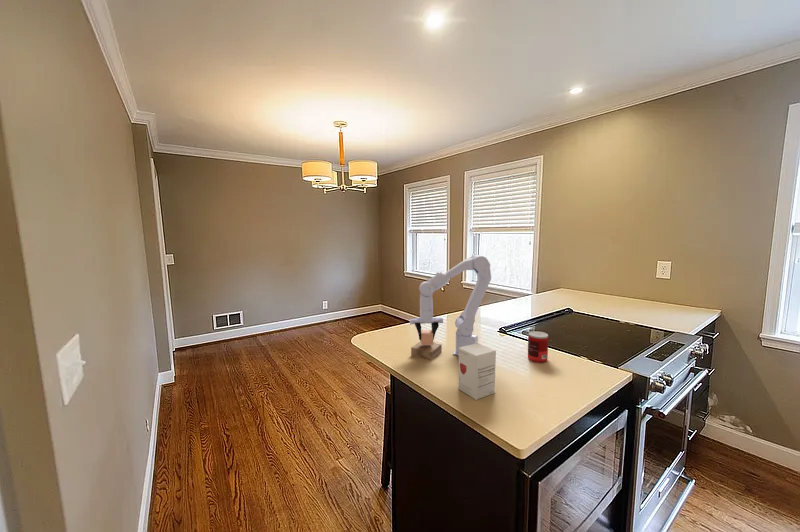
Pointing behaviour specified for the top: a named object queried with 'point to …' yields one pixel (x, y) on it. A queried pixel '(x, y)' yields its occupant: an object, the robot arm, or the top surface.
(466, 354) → the supplement box
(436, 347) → the walnut block
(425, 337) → the terracotta cube
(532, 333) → the canned food
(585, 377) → the top surface
